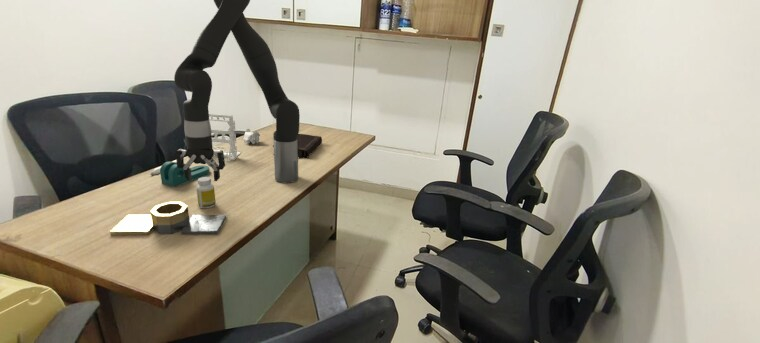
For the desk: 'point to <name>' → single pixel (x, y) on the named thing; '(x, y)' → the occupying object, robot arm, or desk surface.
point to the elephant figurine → (251, 137)
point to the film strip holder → (232, 137)
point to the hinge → (169, 222)
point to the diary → (307, 144)
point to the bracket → (180, 173)
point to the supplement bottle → (205, 193)
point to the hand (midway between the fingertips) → (202, 179)
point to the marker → (157, 170)
